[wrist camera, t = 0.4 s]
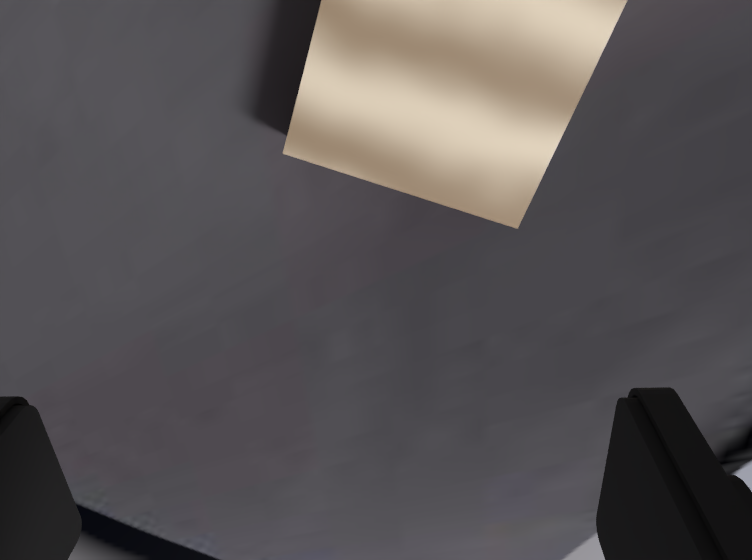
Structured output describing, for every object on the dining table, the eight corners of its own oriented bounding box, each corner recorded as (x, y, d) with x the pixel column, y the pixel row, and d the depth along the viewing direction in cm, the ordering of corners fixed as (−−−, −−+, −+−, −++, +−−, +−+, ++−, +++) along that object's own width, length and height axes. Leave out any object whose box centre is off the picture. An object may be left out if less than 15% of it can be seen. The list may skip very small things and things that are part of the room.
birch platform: (373, -181, 29) (370, -193, 26) (642, -76, 30) (664, -77, 28) (291, 137, 36) (282, 153, 34) (509, 208, 38) (517, 228, 35)
